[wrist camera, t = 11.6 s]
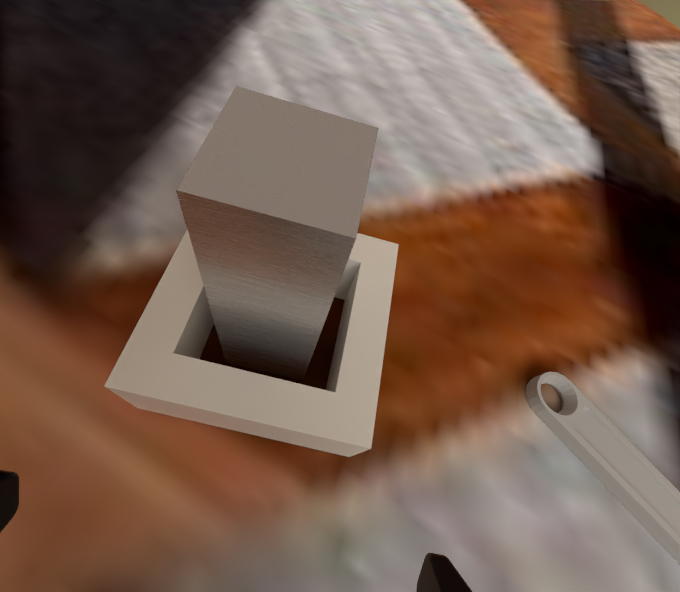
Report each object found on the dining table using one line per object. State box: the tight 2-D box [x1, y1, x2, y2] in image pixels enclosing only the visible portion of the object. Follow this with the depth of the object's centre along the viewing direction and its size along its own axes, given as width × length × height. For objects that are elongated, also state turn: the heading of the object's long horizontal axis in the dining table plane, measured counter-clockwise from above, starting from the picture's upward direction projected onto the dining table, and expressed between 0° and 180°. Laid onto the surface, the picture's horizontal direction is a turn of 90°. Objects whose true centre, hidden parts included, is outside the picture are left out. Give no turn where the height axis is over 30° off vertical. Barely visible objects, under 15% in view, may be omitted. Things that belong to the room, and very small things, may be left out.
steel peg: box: [176, 86, 378, 381], centre depth 14 cm, size 4×4×12 cm
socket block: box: [104, 229, 399, 457], centre depth 17 cm, size 10×10×4 cm
